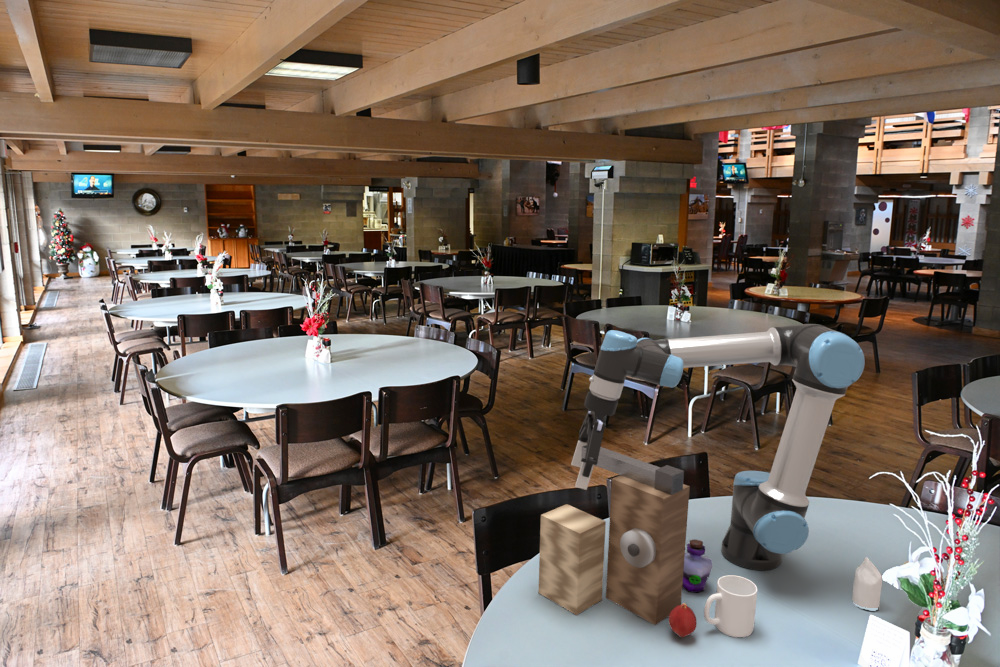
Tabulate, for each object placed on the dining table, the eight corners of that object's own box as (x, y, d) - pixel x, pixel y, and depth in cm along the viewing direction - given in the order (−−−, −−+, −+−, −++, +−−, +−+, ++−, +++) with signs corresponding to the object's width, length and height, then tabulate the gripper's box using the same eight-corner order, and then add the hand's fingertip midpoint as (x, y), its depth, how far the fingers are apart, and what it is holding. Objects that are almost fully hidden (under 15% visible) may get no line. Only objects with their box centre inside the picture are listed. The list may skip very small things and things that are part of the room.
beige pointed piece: (891, 562, 156) (873, 566, 154) (884, 609, 158) (867, 614, 156) (868, 550, 161) (851, 554, 159) (862, 595, 163) (845, 600, 161)
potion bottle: (683, 598, 161) (687, 551, 159) (669, 578, 170) (672, 534, 167) (717, 595, 163) (721, 549, 160) (701, 576, 171) (705, 531, 169)
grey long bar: (579, 460, 166) (580, 443, 165) (591, 456, 168) (592, 439, 168) (671, 495, 147) (672, 476, 146) (682, 489, 150) (684, 470, 149)
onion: (664, 628, 150) (666, 595, 148) (689, 627, 150) (692, 594, 149) (672, 645, 144) (675, 611, 142) (699, 644, 144) (702, 610, 143)
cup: (761, 634, 148) (765, 592, 146) (714, 644, 144) (717, 601, 142) (737, 613, 156) (741, 572, 154) (692, 621, 152) (695, 580, 150)
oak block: (601, 600, 160) (605, 521, 156) (576, 615, 154) (579, 533, 150) (563, 579, 168) (566, 503, 165) (538, 592, 162) (540, 514, 159)
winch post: (680, 607, 157) (689, 486, 152) (646, 631, 148) (655, 502, 143) (631, 582, 167) (638, 467, 162) (597, 603, 159) (602, 482, 153)
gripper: (583, 377, 173) (560, 454, 177) (593, 405, 149) (566, 493, 152) (612, 385, 173) (588, 461, 177) (626, 414, 149) (599, 502, 152)
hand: (578, 476), depth 165 cm, fingers open, 13 cm apart
